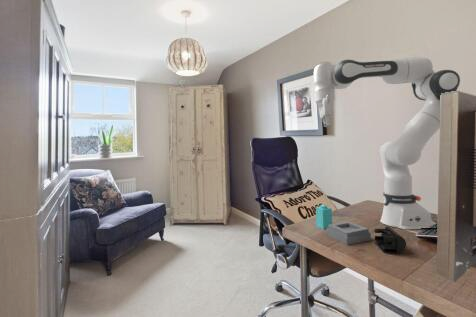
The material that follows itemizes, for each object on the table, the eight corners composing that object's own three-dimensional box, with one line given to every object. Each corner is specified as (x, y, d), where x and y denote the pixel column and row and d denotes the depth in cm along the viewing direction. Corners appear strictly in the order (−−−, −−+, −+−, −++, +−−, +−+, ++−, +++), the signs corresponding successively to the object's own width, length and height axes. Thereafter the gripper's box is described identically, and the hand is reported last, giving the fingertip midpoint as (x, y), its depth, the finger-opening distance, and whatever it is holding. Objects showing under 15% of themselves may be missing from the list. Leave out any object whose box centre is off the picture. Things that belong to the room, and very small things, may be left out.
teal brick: (324, 224, 125) (324, 203, 125) (332, 227, 121) (331, 206, 120) (316, 225, 124) (316, 205, 123) (323, 229, 119) (322, 207, 118)
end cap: (406, 254, 91) (406, 235, 90) (384, 254, 92) (384, 235, 91) (393, 243, 101) (394, 226, 100) (374, 242, 102) (374, 226, 101)
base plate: (348, 230, 116) (348, 220, 115) (370, 239, 105) (370, 228, 104) (326, 234, 112) (326, 224, 111) (347, 245, 100) (346, 233, 100)
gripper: (334, 91, 114) (337, 123, 114) (328, 100, 134) (331, 127, 134) (319, 93, 115) (322, 124, 115) (316, 101, 135) (318, 128, 135)
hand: (327, 126), depth 125 cm, fingers open, 8 cm apart
